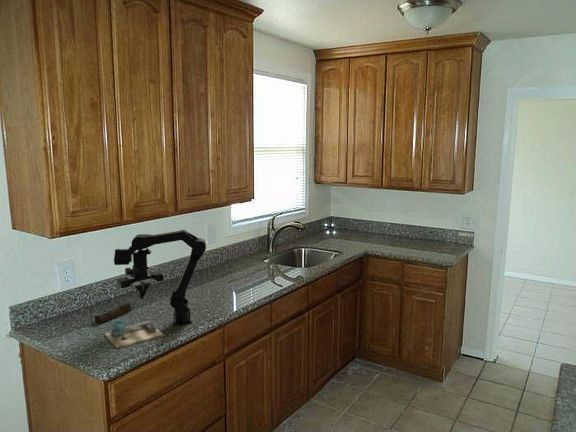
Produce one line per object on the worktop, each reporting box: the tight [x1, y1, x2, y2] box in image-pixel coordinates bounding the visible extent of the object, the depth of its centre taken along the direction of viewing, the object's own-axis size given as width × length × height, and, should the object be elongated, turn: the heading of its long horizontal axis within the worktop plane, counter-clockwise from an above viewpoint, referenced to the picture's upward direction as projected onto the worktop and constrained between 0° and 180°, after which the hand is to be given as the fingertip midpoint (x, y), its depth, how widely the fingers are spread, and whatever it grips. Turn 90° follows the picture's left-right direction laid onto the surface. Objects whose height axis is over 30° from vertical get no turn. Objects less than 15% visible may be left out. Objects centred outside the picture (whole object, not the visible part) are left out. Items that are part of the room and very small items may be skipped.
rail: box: [108, 320, 152, 337], centre depth 190 cm, size 17×2×2 cm, turn 128°
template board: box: [104, 327, 164, 349], centre depth 187 cm, size 19×15×1 cm
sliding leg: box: [110, 318, 127, 339], centre depth 185 cm, size 4×9×5 cm, turn 38°
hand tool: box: [94, 302, 133, 325], centre depth 206 cm, size 19×4×5 cm, turn 147°
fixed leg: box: [145, 322, 157, 333], centre depth 191 cm, size 2×6×4 cm, turn 38°
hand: (141, 298), depth 197 cm, fingers closed
